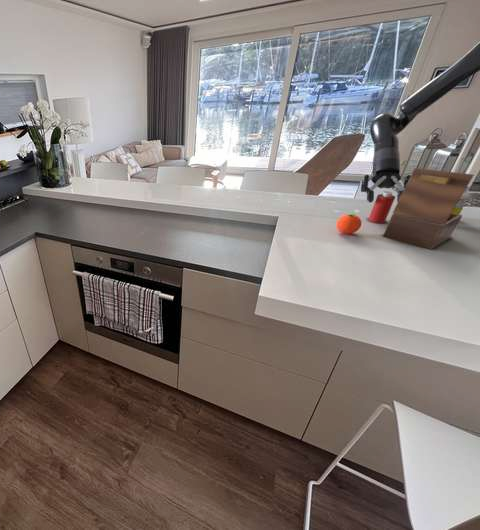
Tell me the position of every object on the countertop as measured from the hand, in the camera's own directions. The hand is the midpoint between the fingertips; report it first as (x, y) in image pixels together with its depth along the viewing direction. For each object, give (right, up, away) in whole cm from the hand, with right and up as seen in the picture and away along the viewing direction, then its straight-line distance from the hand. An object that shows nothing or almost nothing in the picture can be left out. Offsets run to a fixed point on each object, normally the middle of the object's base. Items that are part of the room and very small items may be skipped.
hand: (385, 201), depth 105 cm
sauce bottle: (+1, -6, +5) cm, 8 cm away
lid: (-3, -2, -18) cm, 18 cm away
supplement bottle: (+23, -6, +2) cm, 24 cm away
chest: (+3, -14, -8) cm, 16 cm away
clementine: (-16, -12, -2) cm, 20 cm away
